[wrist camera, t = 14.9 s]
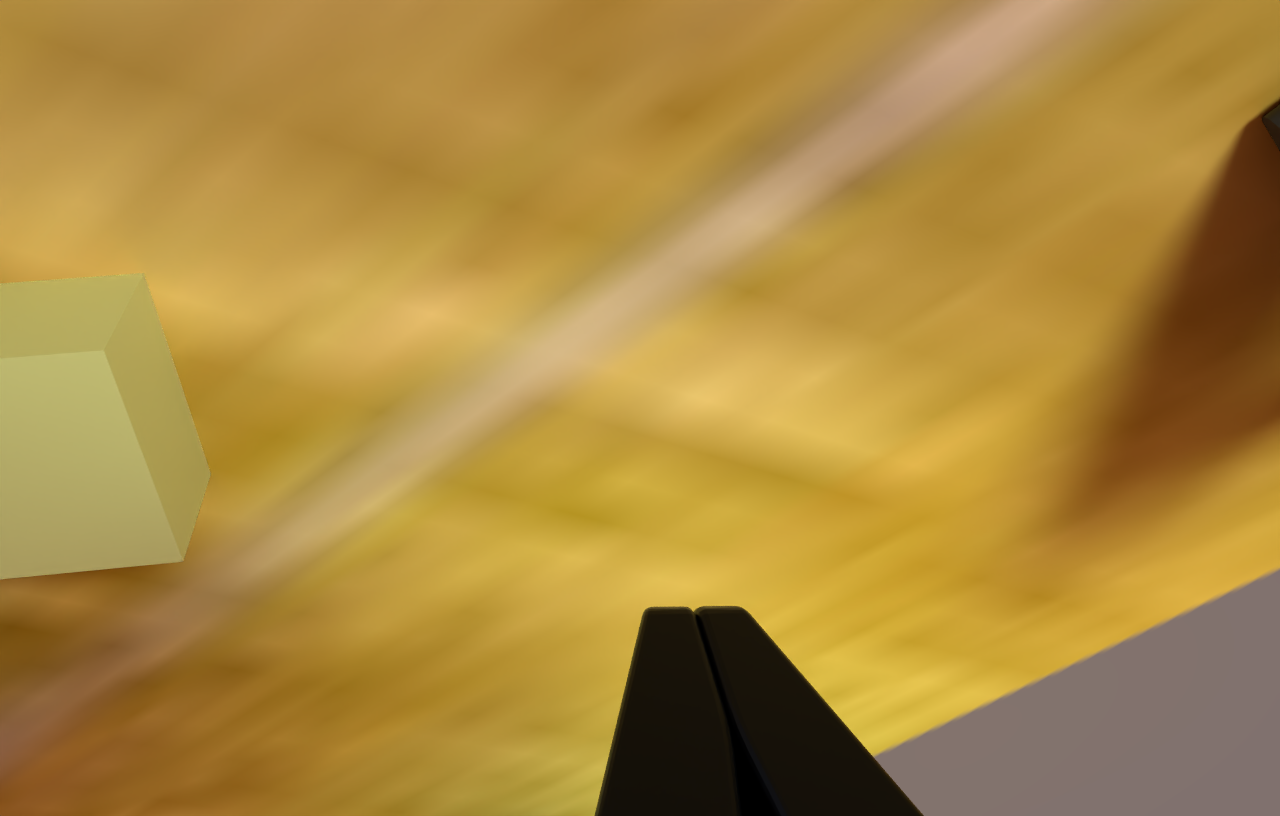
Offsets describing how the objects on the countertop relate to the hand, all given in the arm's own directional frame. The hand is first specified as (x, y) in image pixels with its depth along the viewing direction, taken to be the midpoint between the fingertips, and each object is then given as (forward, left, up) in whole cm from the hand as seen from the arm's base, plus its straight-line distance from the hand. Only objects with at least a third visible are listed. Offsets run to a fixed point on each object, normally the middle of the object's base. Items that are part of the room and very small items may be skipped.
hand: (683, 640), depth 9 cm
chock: (-7, +11, -13) cm, 18 cm away
